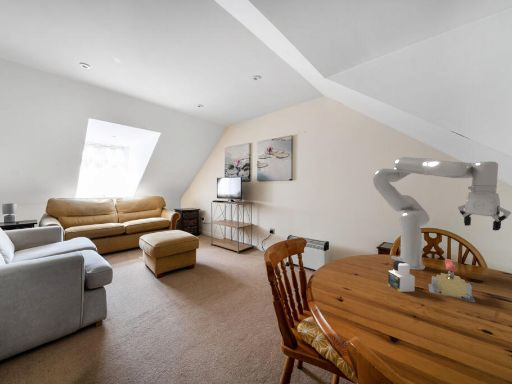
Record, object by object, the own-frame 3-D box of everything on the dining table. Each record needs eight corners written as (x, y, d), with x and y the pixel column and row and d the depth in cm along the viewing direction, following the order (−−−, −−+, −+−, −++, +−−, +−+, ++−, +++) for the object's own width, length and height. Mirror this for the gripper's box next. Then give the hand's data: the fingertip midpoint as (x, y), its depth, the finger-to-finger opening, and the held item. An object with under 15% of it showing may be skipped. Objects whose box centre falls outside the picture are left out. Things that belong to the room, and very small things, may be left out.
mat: (429, 293, 91) (429, 291, 91) (428, 285, 98) (428, 283, 98) (475, 304, 82) (475, 302, 82) (470, 294, 89) (471, 292, 89)
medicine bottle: (387, 285, 98) (388, 259, 97) (402, 284, 99) (402, 259, 98) (399, 293, 91) (399, 265, 90) (414, 292, 91) (415, 265, 91)
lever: (446, 270, 88) (446, 265, 88) (443, 263, 96) (443, 258, 96) (456, 272, 87) (457, 267, 86) (453, 264, 94) (453, 260, 94)
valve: (432, 292, 90) (432, 269, 90) (431, 286, 95) (432, 265, 95) (471, 301, 83) (472, 277, 83) (468, 294, 88) (469, 271, 88)
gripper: (454, 188, 101) (452, 224, 102) (506, 190, 84) (503, 233, 85) (464, 188, 103) (462, 223, 104) (517, 190, 87) (514, 231, 88)
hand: (481, 227), depth 95 cm, fingers open, 9 cm apart
